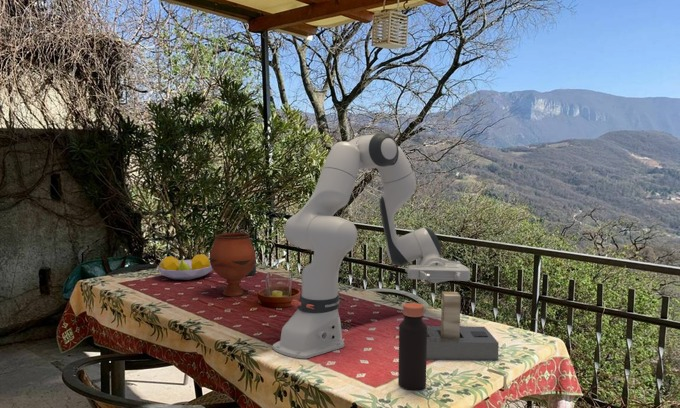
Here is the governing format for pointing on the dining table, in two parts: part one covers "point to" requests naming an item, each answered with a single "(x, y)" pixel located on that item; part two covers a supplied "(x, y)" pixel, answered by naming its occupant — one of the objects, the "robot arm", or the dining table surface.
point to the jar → (252, 271)
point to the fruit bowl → (185, 267)
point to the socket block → (461, 345)
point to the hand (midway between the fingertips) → (442, 277)
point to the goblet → (232, 259)
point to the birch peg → (450, 315)
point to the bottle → (412, 348)
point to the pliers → (341, 298)
